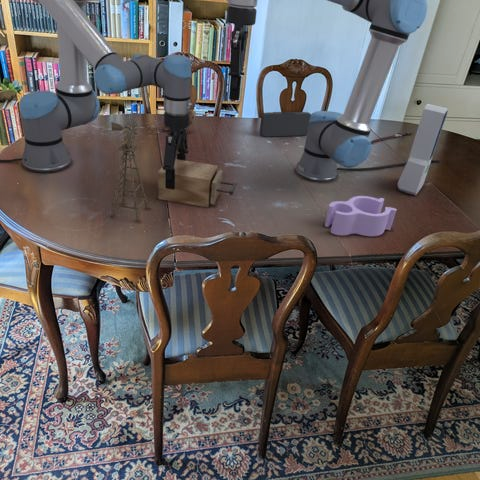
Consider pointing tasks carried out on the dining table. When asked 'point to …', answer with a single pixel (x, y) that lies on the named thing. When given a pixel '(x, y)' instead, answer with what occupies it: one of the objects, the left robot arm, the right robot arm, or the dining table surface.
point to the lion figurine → (192, 119)
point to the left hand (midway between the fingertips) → (175, 180)
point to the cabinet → (188, 183)
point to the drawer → (219, 187)
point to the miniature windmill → (125, 147)
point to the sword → (389, 137)
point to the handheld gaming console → (284, 123)
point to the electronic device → (422, 149)
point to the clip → (359, 216)
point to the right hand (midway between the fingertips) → (234, 99)
